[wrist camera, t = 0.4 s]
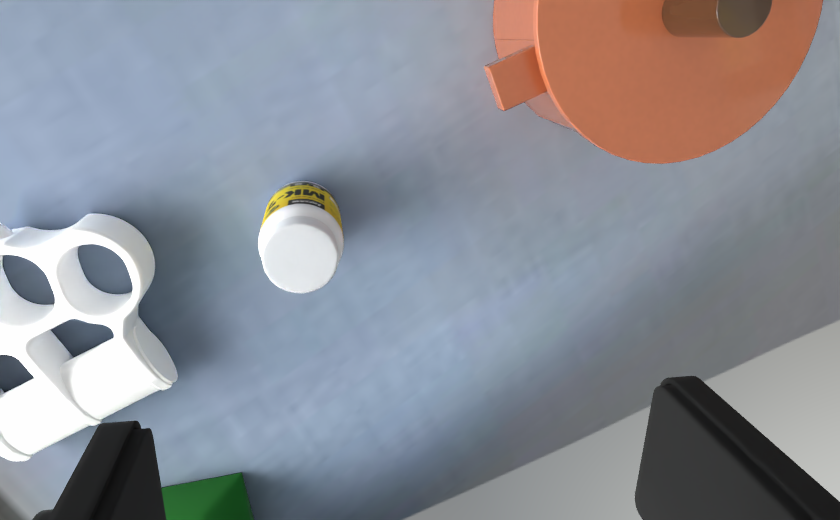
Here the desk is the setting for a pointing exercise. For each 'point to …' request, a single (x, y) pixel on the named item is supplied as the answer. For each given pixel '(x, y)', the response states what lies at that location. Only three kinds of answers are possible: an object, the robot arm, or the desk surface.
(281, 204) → the supplement bottle
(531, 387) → the desk surface
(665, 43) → the pot lid
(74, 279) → the white muffin tray
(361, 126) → the desk surface
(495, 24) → the pot
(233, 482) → the milk carton
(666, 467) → the robot arm
